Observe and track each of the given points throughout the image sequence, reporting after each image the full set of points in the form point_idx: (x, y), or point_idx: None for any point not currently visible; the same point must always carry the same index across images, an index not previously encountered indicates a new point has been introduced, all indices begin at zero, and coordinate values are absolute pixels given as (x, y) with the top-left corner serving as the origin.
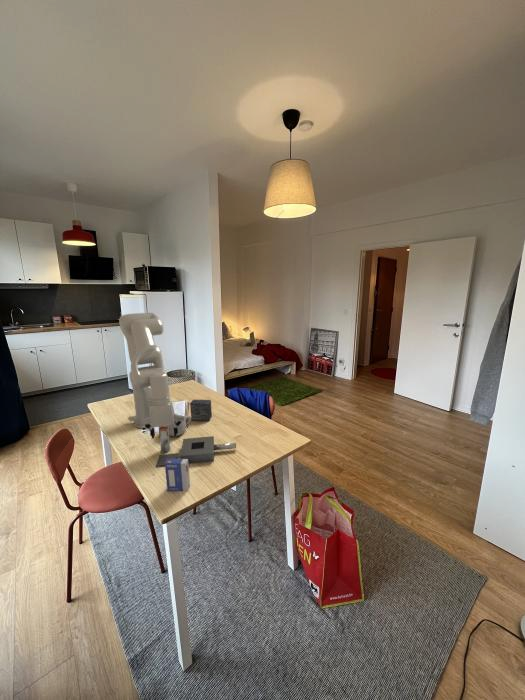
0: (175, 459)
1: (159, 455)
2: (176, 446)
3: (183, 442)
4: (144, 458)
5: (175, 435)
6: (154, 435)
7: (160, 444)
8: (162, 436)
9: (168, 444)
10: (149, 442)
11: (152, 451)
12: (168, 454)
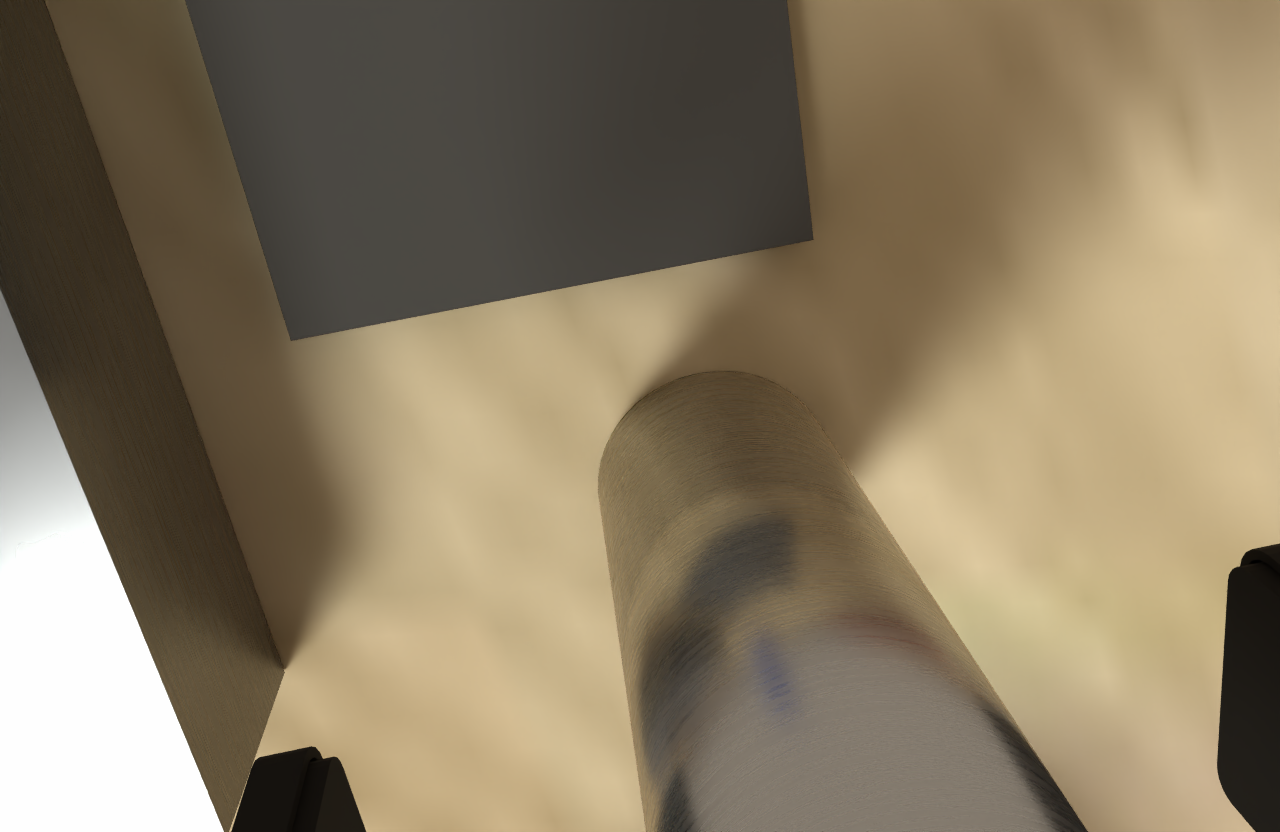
0: None
1: (800, 205)
2: (491, 665)
3: (121, 653)
4: (1188, 111)
5: (263, 778)
6: (1242, 736)
7: (883, 522)
8: (868, 668)
9: (623, 548)
10: (1205, 773)
11: (1049, 433)
12: (550, 261)
